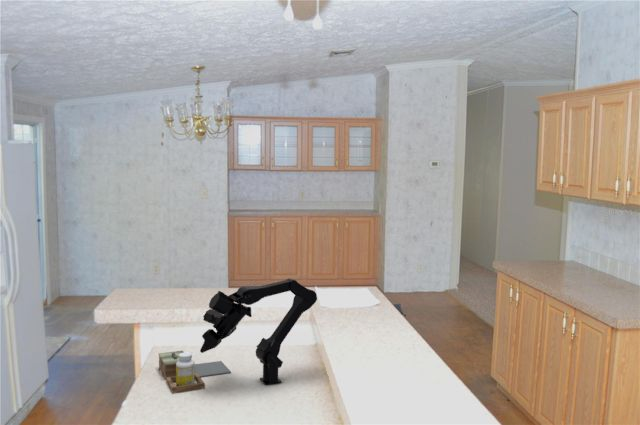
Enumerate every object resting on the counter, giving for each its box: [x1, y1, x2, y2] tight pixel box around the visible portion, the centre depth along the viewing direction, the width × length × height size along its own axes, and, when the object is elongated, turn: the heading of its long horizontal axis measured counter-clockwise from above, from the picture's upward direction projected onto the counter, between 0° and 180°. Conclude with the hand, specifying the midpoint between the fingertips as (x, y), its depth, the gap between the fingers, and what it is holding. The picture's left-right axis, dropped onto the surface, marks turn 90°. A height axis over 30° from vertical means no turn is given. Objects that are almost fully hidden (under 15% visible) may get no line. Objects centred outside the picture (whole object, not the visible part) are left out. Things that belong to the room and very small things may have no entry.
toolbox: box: [158, 350, 206, 394], centre depth 204 cm, size 28×11×7 cm, turn 26°
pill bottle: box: [175, 351, 195, 386], centre depth 197 cm, size 6×6×12 cm
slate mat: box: [194, 360, 232, 379], centre depth 214 cm, size 14×14×1 cm
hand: (206, 347), depth 199 cm, fingers open, 9 cm apart
